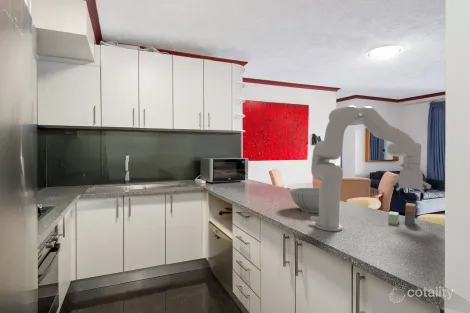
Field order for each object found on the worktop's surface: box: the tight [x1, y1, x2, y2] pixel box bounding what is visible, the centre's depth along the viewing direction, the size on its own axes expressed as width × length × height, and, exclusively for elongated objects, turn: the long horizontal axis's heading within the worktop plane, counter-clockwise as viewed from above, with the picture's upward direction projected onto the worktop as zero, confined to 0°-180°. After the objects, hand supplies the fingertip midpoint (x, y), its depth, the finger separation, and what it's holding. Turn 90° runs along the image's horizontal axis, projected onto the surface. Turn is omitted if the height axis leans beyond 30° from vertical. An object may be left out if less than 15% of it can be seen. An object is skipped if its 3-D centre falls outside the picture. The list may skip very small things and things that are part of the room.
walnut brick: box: [404, 202, 416, 217], centre depth 138 cm, size 7×4×5 cm, turn 143°
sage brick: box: [387, 210, 400, 225], centre depth 139 cm, size 7×4×5 cm, turn 144°
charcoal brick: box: [404, 214, 416, 226], centre depth 138 cm, size 7×4×5 cm, turn 143°
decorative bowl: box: [289, 187, 319, 214], centre depth 164 cm, size 27×27×12 cm
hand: (409, 199), depth 137 cm, fingers open, 9 cm apart
